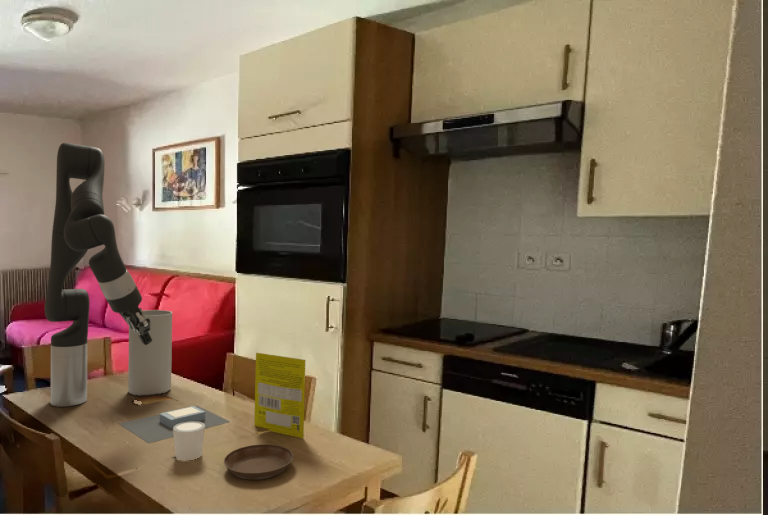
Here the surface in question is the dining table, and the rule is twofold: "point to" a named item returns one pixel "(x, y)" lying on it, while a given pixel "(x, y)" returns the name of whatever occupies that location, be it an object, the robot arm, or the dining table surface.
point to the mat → (164, 426)
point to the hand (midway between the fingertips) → (147, 342)
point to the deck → (182, 416)
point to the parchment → (152, 398)
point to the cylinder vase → (151, 356)
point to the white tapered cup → (188, 440)
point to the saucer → (258, 461)
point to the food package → (280, 394)
